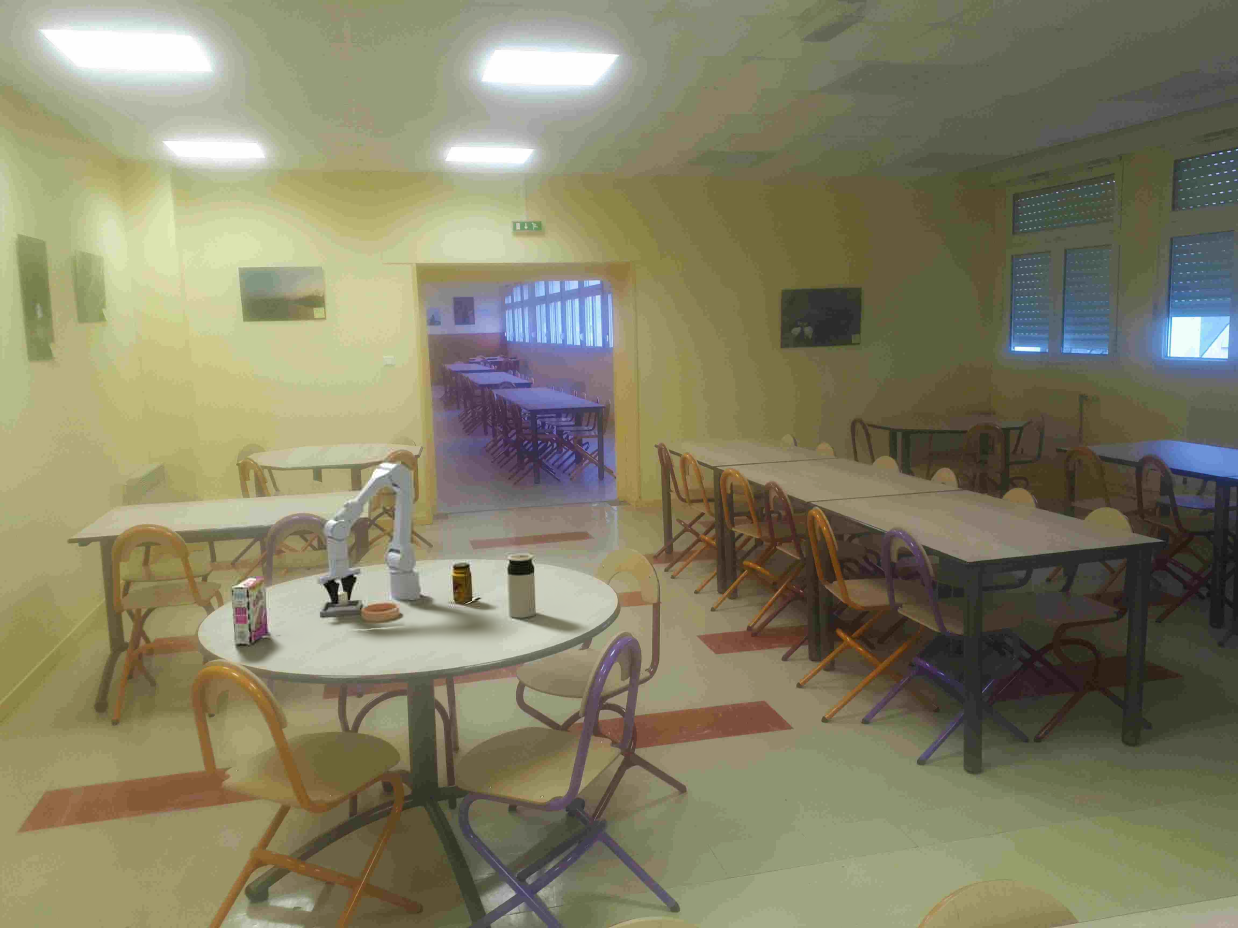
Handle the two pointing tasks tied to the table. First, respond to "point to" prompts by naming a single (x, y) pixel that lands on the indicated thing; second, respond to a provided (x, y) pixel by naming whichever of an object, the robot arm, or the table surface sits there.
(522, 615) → the travel mug
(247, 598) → the candy bar box
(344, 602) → the cream round lump
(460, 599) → the condiment
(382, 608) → the bowl
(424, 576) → the table surface
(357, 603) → the tray
